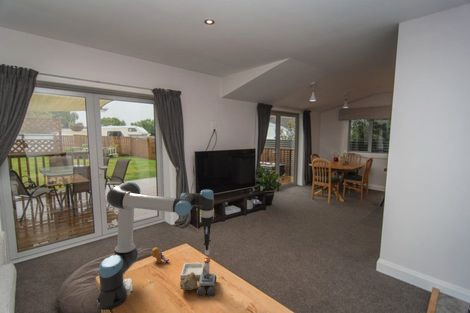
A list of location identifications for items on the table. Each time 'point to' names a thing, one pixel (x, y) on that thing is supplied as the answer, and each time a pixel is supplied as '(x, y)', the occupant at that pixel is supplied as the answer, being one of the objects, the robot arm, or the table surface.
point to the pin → (207, 268)
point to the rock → (189, 282)
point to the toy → (158, 255)
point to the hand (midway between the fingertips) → (207, 253)
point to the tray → (192, 270)
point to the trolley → (203, 282)
